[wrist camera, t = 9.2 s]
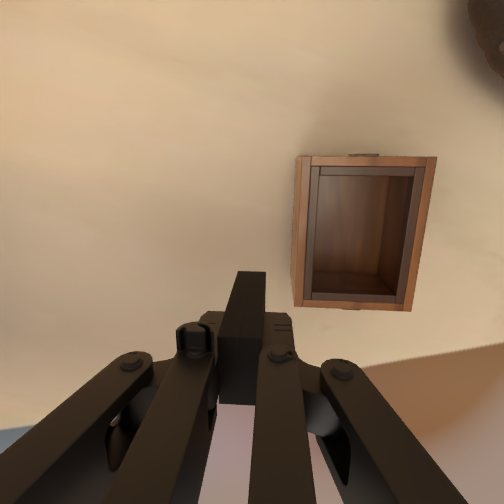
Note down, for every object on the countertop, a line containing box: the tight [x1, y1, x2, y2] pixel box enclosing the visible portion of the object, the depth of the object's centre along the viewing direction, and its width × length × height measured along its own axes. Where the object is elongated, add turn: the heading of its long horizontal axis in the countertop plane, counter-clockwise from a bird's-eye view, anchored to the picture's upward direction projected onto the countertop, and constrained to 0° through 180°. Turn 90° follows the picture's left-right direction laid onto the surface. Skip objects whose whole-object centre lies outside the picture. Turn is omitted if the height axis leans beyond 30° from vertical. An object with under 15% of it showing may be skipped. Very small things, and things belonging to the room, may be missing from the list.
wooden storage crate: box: [291, 154, 437, 312], centre depth 32 cm, size 9×14×11 cm
